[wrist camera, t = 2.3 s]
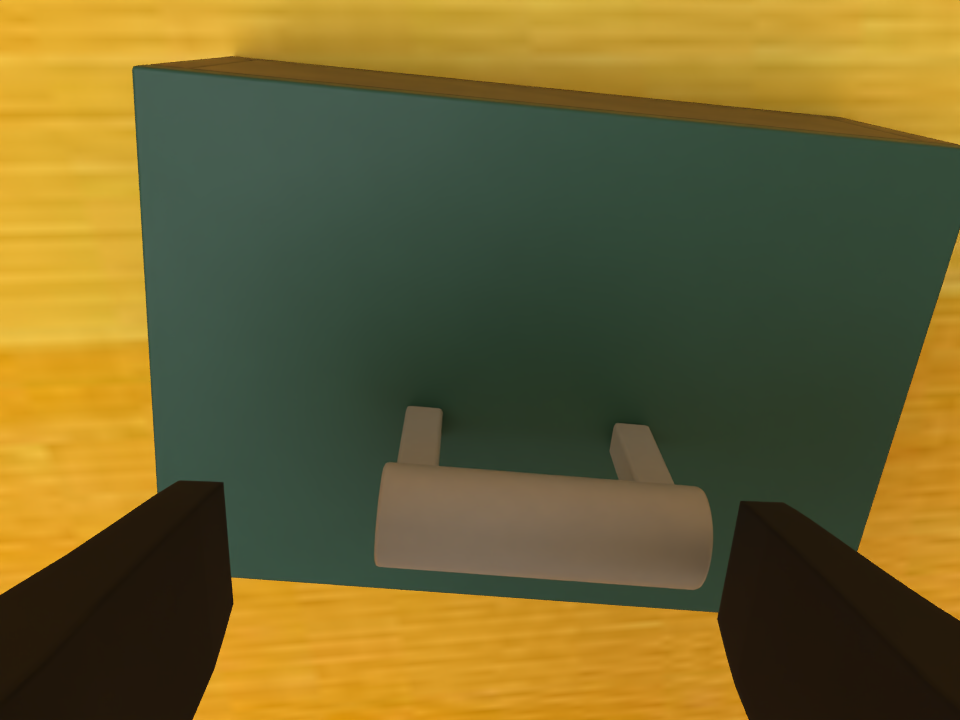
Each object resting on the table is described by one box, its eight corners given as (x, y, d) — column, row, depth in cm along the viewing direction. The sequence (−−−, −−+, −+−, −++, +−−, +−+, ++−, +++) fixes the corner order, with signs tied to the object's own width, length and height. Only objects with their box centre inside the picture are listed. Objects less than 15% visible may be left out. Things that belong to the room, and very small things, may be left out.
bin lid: (824, 604, 18) (936, 785, 14) (170, 556, 18) (71, 729, 13) (966, 145, 14) (1180, 194, 10) (144, 64, 14) (-6, 79, 9)
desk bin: (754, 465, 23) (830, 580, 18) (236, 422, 22) (170, 531, 17) (842, 117, 19) (964, 145, 14) (229, 56, 19) (145, 63, 14)
